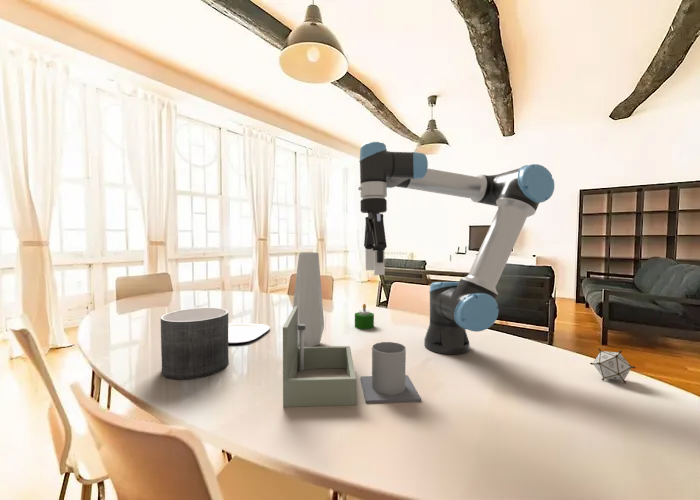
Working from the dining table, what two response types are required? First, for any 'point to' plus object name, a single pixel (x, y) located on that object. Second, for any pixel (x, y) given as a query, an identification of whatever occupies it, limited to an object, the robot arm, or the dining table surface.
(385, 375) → the cup
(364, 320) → the candle
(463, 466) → the dining table surface
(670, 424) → the dining table surface
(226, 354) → the planter
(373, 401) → the mat
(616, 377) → the game die
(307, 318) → the vase
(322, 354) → the case
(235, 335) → the plate
